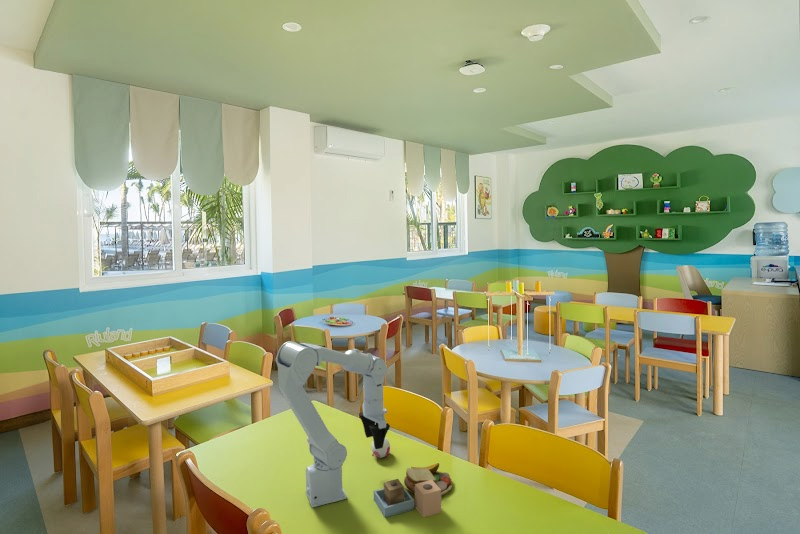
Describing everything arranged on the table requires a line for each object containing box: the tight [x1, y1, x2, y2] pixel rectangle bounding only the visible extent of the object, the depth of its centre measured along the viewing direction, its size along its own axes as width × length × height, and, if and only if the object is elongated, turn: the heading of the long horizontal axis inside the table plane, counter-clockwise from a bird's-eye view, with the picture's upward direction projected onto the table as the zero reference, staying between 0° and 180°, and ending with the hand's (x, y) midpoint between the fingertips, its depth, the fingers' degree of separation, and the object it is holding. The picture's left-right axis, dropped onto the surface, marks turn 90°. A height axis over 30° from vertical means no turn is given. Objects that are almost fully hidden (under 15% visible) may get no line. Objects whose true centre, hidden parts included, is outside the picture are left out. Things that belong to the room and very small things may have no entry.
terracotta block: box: [414, 480, 442, 518], centre depth 116 cm, size 5×5×6 cm
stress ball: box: [370, 437, 392, 458], centre depth 143 cm, size 8×8×7 cm
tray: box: [373, 487, 415, 519], centre depth 118 cm, size 8×8×2 cm
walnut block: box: [383, 478, 405, 506], centre depth 117 cm, size 4×4×5 cm
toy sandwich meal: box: [403, 462, 453, 497], centre depth 126 cm, size 12×14×5 cm
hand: (374, 442), depth 132 cm, fingers open, 7 cm apart
